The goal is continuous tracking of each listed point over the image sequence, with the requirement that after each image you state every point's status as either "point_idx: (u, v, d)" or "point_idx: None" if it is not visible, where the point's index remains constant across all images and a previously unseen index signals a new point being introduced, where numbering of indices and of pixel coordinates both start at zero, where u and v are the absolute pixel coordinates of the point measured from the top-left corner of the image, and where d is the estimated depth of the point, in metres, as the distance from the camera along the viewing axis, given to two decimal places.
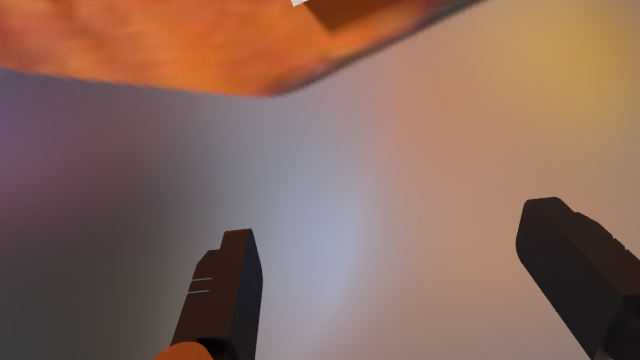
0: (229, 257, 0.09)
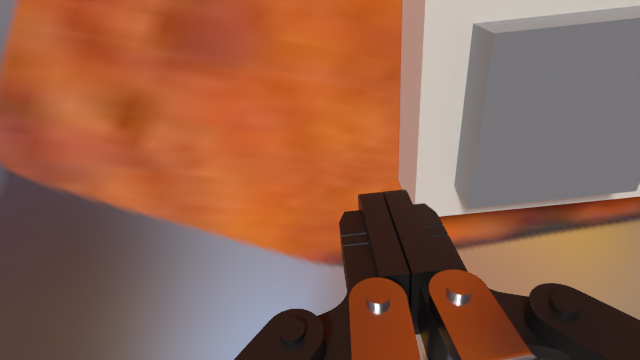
0: (375, 214, 0.10)
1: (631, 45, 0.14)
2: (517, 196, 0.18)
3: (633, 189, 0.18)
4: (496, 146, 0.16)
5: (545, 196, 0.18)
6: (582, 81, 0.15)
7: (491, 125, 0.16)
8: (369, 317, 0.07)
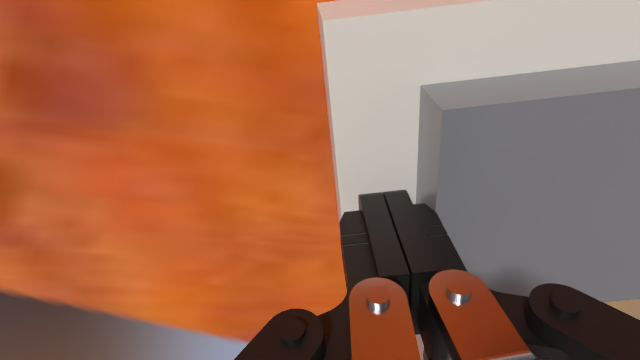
0: (375, 214, 0.10)
1: None
2: None
3: None
4: (458, 250, 0.12)
5: None
6: (576, 170, 0.10)
7: (449, 225, 0.11)
8: (369, 317, 0.07)
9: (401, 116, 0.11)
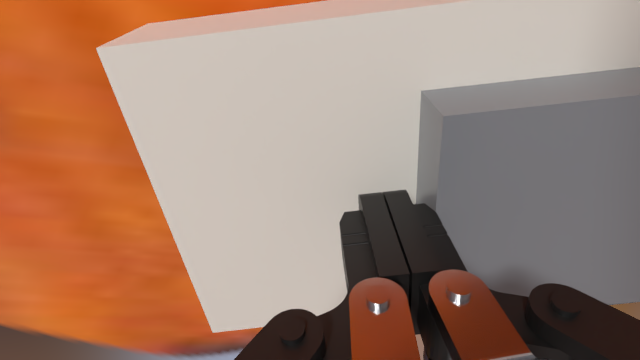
0: (375, 214, 0.10)
1: None
2: None
3: None
4: None
5: None
6: (574, 176, 0.10)
7: (449, 230, 0.11)
8: (369, 317, 0.07)
9: (203, 138, 0.12)
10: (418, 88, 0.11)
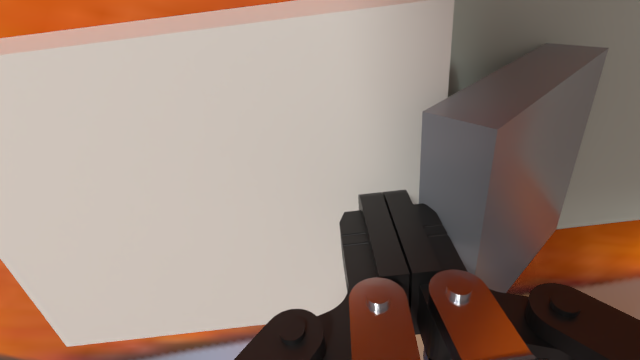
0: (375, 214, 0.10)
1: (572, 99, 0.12)
2: None
3: (555, 229, 0.17)
4: (488, 262, 0.11)
5: (513, 280, 0.15)
6: (545, 151, 0.12)
7: (486, 242, 0.11)
8: (369, 317, 0.07)
9: None
10: (202, 110, 0.11)
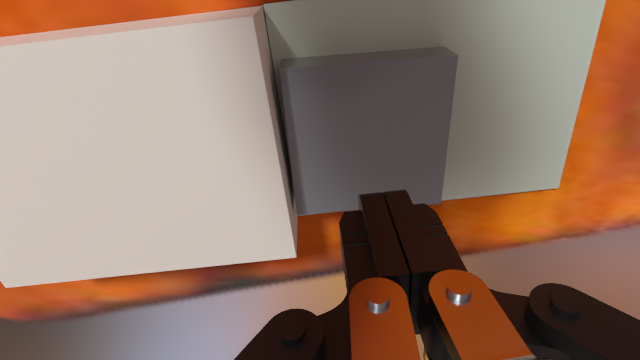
0: (375, 214, 0.10)
1: (397, 81, 0.17)
2: (337, 205, 0.21)
3: (438, 202, 0.21)
4: (306, 161, 0.19)
5: None
6: (365, 109, 0.18)
7: (297, 143, 0.19)
8: (369, 317, 0.07)
9: None
10: (86, 95, 0.15)
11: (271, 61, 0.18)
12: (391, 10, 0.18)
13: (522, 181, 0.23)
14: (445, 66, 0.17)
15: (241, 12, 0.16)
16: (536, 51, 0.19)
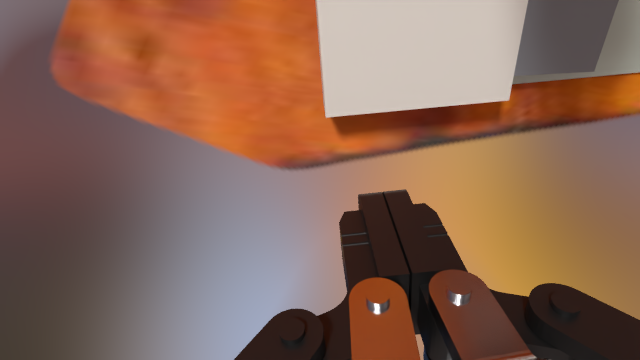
0: (375, 214, 0.10)
1: None
2: (531, 70, 0.33)
3: (592, 70, 0.33)
4: (523, 37, 0.32)
5: (546, 71, 0.33)
6: (568, 2, 0.30)
7: None
8: (369, 317, 0.07)
9: (345, 1, 0.28)
10: None
11: None
12: None
13: (637, 64, 0.35)
14: None
15: None
16: None
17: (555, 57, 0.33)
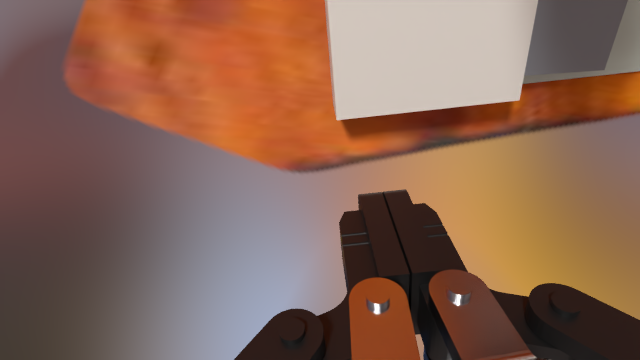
0: (375, 214, 0.10)
1: None
2: (541, 70, 0.33)
3: (602, 68, 0.33)
4: (533, 37, 0.32)
5: (556, 71, 0.33)
6: (577, 2, 0.30)
7: None
8: (369, 317, 0.07)
9: (355, 4, 0.28)
10: None
11: None
12: None
13: None
14: None
15: None
16: None
17: (565, 56, 0.33)
